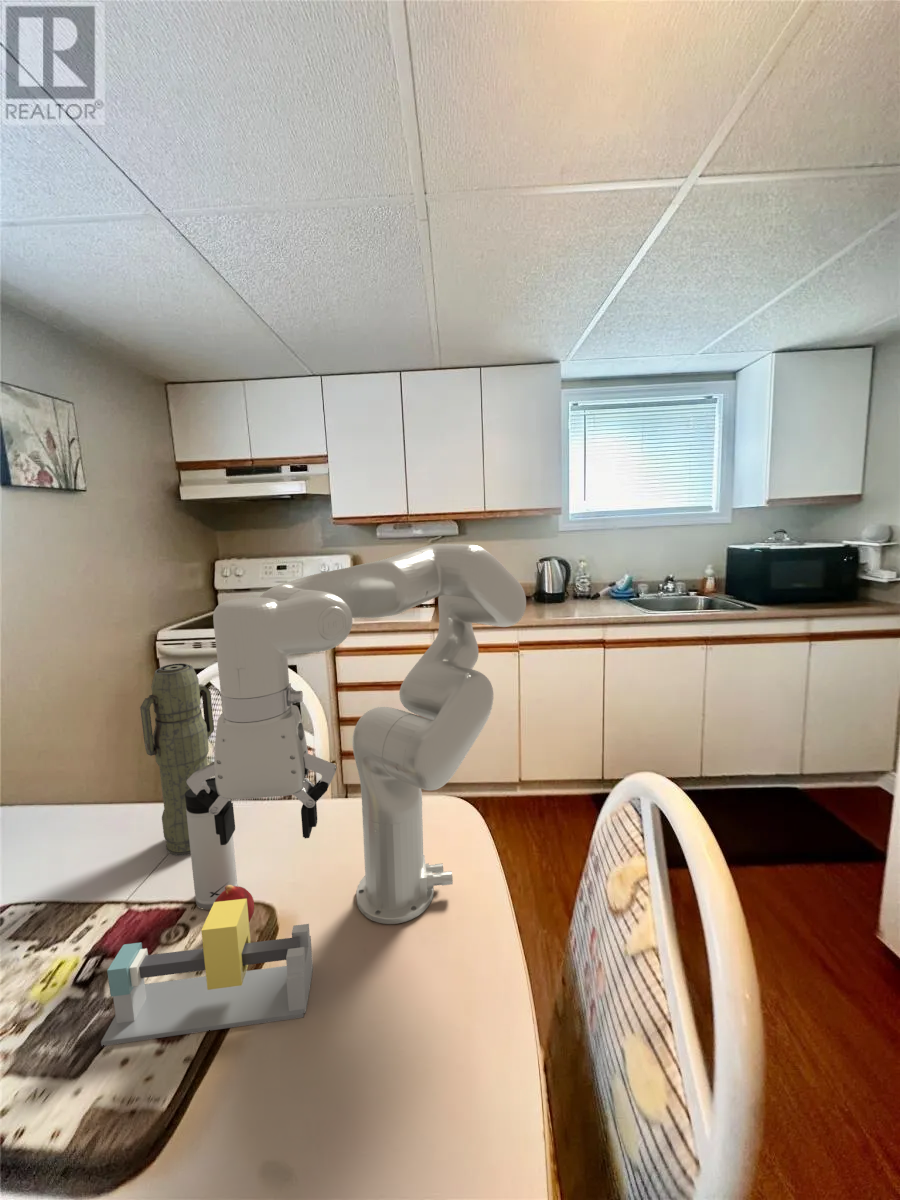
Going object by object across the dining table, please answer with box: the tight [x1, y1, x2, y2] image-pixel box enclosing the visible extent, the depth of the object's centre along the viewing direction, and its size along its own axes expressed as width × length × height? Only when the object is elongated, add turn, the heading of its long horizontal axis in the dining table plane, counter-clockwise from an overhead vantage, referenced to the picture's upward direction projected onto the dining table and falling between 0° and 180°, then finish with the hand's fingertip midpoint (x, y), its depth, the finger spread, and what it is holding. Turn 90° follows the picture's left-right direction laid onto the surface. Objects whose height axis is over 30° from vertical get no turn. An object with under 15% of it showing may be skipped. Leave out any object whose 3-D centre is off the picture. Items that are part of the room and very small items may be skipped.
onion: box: [215, 885, 255, 923], centre depth 71 cm, size 6×6×8 cm
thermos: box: [139, 662, 215, 856], centre depth 91 cm, size 9×12×35 cm
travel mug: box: [185, 777, 239, 910], centre depth 77 cm, size 6×7×20 cm
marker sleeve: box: [200, 899, 252, 990], centre depth 60 cm, size 4×4×8 cm
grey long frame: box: [100, 923, 314, 1047], centre depth 60 cm, size 23×7×8 cm, turn 98°
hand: (268, 834), depth 59 cm, fingers open, 9 cm apart
